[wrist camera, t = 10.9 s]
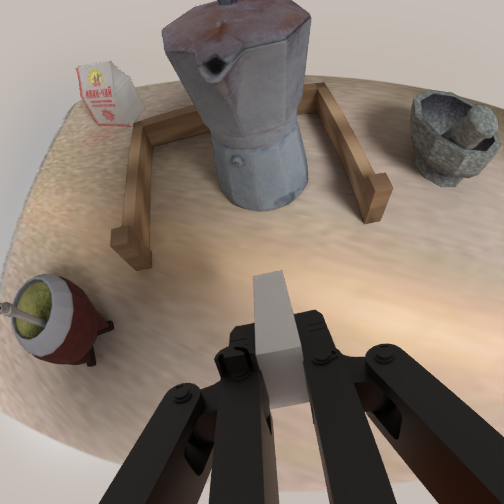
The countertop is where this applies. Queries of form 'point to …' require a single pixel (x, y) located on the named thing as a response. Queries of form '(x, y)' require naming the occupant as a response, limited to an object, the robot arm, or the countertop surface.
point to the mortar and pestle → (452, 137)
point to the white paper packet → (109, 94)
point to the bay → (190, 123)
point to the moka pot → (247, 92)
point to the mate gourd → (55, 321)
